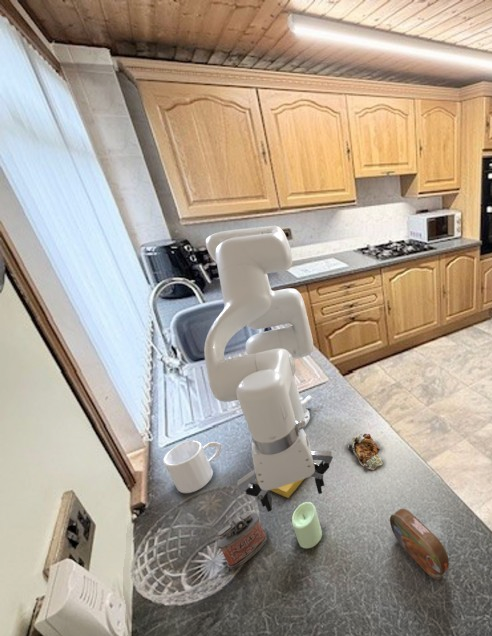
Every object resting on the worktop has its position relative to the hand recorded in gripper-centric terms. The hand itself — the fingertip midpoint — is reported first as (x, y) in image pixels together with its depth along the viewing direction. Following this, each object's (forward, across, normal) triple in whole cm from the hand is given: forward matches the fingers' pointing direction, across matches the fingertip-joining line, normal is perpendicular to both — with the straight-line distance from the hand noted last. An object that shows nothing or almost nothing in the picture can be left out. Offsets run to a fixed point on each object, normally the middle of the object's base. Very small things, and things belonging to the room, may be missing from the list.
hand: (295, 496), depth 70 cm
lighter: (+13, +12, -1) cm, 18 cm away
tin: (+13, -21, +14) cm, 28 cm away
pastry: (+13, -18, -17) cm, 28 cm away
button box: (+13, +4, -18) cm, 23 cm away
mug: (+14, +24, -27) cm, 39 cm away
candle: (+13, -1, +1) cm, 13 cm away
